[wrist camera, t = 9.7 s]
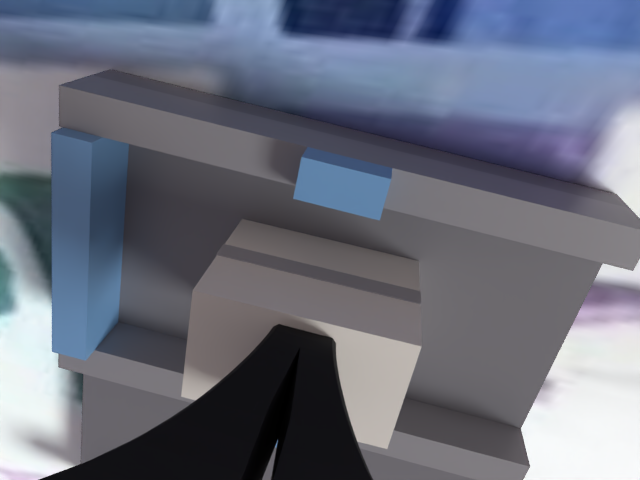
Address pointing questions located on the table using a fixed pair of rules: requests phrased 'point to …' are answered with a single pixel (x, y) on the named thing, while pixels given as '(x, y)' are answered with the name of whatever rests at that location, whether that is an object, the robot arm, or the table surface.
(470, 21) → the table surface
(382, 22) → the table surface
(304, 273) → the beige rectangular box
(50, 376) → the table surface
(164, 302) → the board
